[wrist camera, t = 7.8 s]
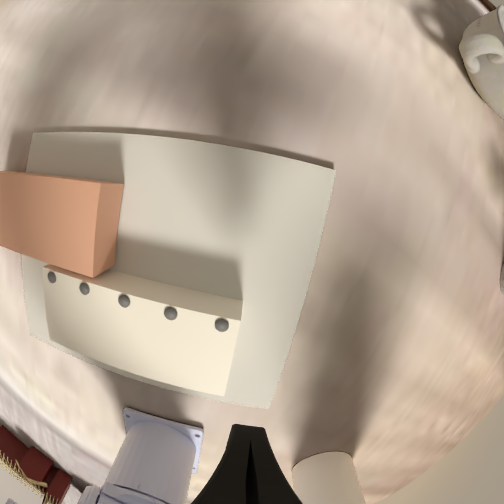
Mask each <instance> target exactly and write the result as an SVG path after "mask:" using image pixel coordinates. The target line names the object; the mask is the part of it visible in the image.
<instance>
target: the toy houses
mask: <svg viewBox="0 0 504 504" xmlns="http://www.w3.org/2000/svg"><path fill="white" fill-rule="evenodd" d="M0 459H1V461H3V462H4V463H5V464H6V466H5V467H6V468H7V466H8V467H10V469H11V470H13V471H14V473H16V474H17V480H19V479H18V478H19V477H18V476H20V477H21V478H20V479H21V480H22V479H24V480H25V481H24V482H26V481H27V482H26V483H29V484H27V485H30V484H31V485H32V486H33V488H34V487H35V488H36V490H39V491H40V493H41V492H42V493H43V494H44V499H43V503H42V504H47V503H51V504H61V503H62V501H63V499H64V497H65V495H66V493H67V491H68V489H69V487H70V484H71V480H72V477H71V476H70V475H68V474H67V473H65V472H64V471H62V470H61V469H59V470H57V469H55V468H54V467H53V461H52V460H50V459H49V458H48V457H46V456H45V455H44V454H42V453H41V452H40V451H39V450H37V449H36V448H35V447H34V446H32V447H31V448H30V449H29V448H28V447H26V446H25V445H24V444H23V443H22V442H21V441H19V440H18V439H17V438H16V437H15V436H14V435H13V434H12V433H11V432H9V431H8V430H7V429H6V428H5V427H4V426H3V425H2V426H1V427H0ZM5 464H4V465H5ZM2 467H3V466H2ZM6 470H7V469H6ZM12 473H13V472H12ZM13 477H14V474H13ZM21 483H22V481H21ZM25 486H26V484H25ZM30 488H32V487H30ZM30 488H29V489H30ZM34 491H35V490H34ZM38 494H39V493H38ZM36 495H37V494H36ZM42 496H43V495H41V497H42Z"/></svg>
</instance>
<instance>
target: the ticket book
mask: <svg viewBox="0 0 504 504" xmlns="http://www.w3.org/2000/svg"><path fill="white" fill-rule="evenodd" d="M43 286H44V299H45V309H46V317H47V325H48V331H49V338H50V340H51V341H53V342H55V343H58V344H60V345H62V346H64V347H66V348H68V349H71V350H73V351H75V352H77V353H80V354H82V355H85V356H87V357H89V358H92V359H94V360H97V361H100V362H102V363H105V364H108V365H110V366H113V367H116V368H119V369H121V370H124V371H127V372H130V373H133V374H136V375H140V376H143V377H146V378H149V379H153V380H156V381H160V382H163V383H167V384H171V385H174V386H178V387H182V388H186V389H191V390H195V391H199V392H204V393H209V394H213V395H219V396H224V395H225V391H226V386H227V382H228V377H229V373H230V368H231V364H232V359H233V355H234V350H235V346H236V341H237V337H238V332H239V327H240V323H241V315H242V306H243V300H238V299H233V298H228V297H223V296H219V295H214V294H209V293H205V292H200V291H196V290H191V289H187V288H182V287H178V286H174V285H169V284H165V283H161V282H157V281H153V280H149V279H145V278H141V277H137V276H133V275H129V274H125V273H122V272H118V271H114V270H110V269H107V270H105V271H104V272H102V273H100V274H98V275H97V276H95V277H93V278H92V277H89V276H86V275H82V274H79V273H76V272H73V271H70V270H67V269H64V268H61V267H58V266H55V265H52V264H48V265H46V266H43Z"/></svg>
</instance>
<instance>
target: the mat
mask: <svg viewBox="0 0 504 504" xmlns="http://www.w3.org/2000/svg"><path fill="white" fill-rule="evenodd" d="M26 173H37V174H48V175H58V176H67V177H75V178H84V179H92V180H100V181H107V182H114V183H121V184H124V186H123V193H122V199H121V207H120V214H119V223H118V232H117V242H116V255H115V265H114V266H112V267H110V268H109V269H110V270H114V271H118V272H122V273H125V274H129V275H133V276H137V277H141V278H145V279H149V280H153V281H157V282H161V283H165V284H169V285H174V286H178V287H182V288H187V289H191V290H196V291H200V292H205V293H209V294H214V295H219V296H223V297H228V298H233V299H238V300H243V306H242V315H241V323H240V327H239V332H238V337H237V341H236V346H235V350H234V355H233V359H232V364H231V368H230V373H229V377H228V382H227V386H226V391H225V395H224V396H219V395H213V394H209V393H204V392H199V391H195V390H191V389H186V388H182V387H178V386H174V385H171V384H167V383H163V382H160V381H156V380H153V379H149V378H146V377H143V376H140V375H136V374H133V373H130V372H127V371H124V370H121V369H119V368H116V367H113V366H110V365H108V364H105V363H102V362H100V361H97V360H94V359H92V358H89V357H87V356H85V355H82V354H80V353H77V352H75V351H73V350H71V349H68V348H66V347H64V346H62V345H60V344H58V343H55V342H53V341H51V340H50V338H49V331H48V325H47V317H46V309H45V299H44V286H43V266H46V265H48V264H49V263H46V262H43V261H40V260H37V259H35V258H32V257H29V256H26V255H24V254H21V263H22V279H23V290H24V299H25V307H26V314H27V320H28V326H29V331H30V335H31V336H33V337H35V338H37V339H39V340H41V341H43V342H45V343H47V344H49V345H51V346H53V347H55V348H57V349H59V350H61V351H63V352H65V353H67V354H70V355H72V356H74V357H76V358H79V359H81V360H83V361H86V362H88V363H91V364H93V365H95V366H98V367H101V368H103V369H106V370H108V371H111V372H114V373H117V374H119V375H122V376H125V377H128V378H131V379H134V380H137V381H140V382H144V383H147V384H150V385H153V386H157V387H160V388H164V389H168V390H171V391H175V392H179V393H183V394H187V395H191V396H196V397H200V398H205V399H210V400H215V401H220V402H225V403H231V404H237V405H243V406H250V407H257V408H265V409H269V407H270V404H271V402H272V399H273V396H274V393H275V391H276V388H277V385H278V382H279V379H280V376H281V374H282V371H283V368H284V365H285V362H286V359H287V356H288V353H289V350H290V347H291V343H292V340H293V337H294V334H295V331H296V328H297V324H298V321H299V318H300V314H301V311H302V308H303V304H304V301H305V297H306V294H307V290H308V287H309V283H310V279H311V276H312V272H313V268H314V265H315V261H316V257H317V253H318V249H319V245H320V241H321V237H322V233H323V229H324V225H325V220H326V216H327V212H328V207H329V203H330V198H331V194H332V189H333V184H334V179H335V174H336V170H333V169H330V168H326V167H322V166H319V165H315V164H311V163H307V162H303V161H299V160H295V159H291V158H286V157H282V156H278V155H273V154H269V153H264V152H259V151H254V150H249V149H244V148H238V147H233V146H227V145H221V144H215V143H208V142H202V141H195V140H187V139H179V138H171V137H162V136H151V135H140V134H126V133H107V132H39V133H33V134H32V138H31V143H30V148H29V154H28V160H27V166H26Z"/></svg>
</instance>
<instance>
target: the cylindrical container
mask: <svg viewBox="0 0 504 504" xmlns="http://www.w3.org/2000/svg"><path fill="white" fill-rule="evenodd" d="M292 479H293V488H294V492H295V494H296V495H297V497H298V498H299V499H300V501H301V502H302V503H303V504H366V503H365V500H364V496H363V493H362V490H361V486H360V483H359V480H358V477H357V473H356V470H355V467H354V464H353V460H352V457H351V456H350V455H349V454H347V453H344V452H325V453H320V454H317V455H313V456H311V457H308V458H306V459H304V460H302V461H300V462H299V463H297V464H296V465H295V466H294V467H293V469H292Z"/></svg>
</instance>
